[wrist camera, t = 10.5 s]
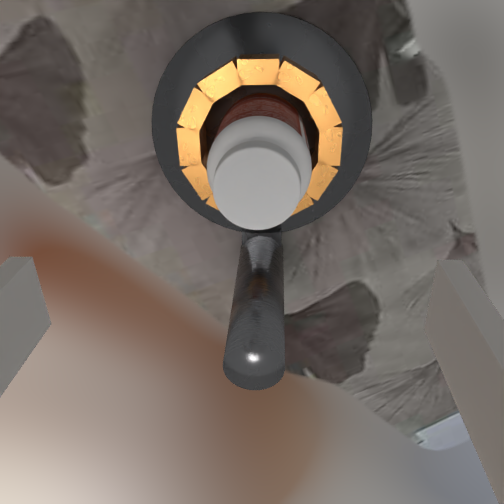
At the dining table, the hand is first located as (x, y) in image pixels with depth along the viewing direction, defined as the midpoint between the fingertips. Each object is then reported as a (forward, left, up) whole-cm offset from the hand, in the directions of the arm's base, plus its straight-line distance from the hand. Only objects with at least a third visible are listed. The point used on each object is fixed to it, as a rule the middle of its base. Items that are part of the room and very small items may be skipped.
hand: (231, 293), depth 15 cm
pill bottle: (0, 0, -21) cm, 21 cm away
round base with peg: (+2, 0, -22) cm, 22 cm away
